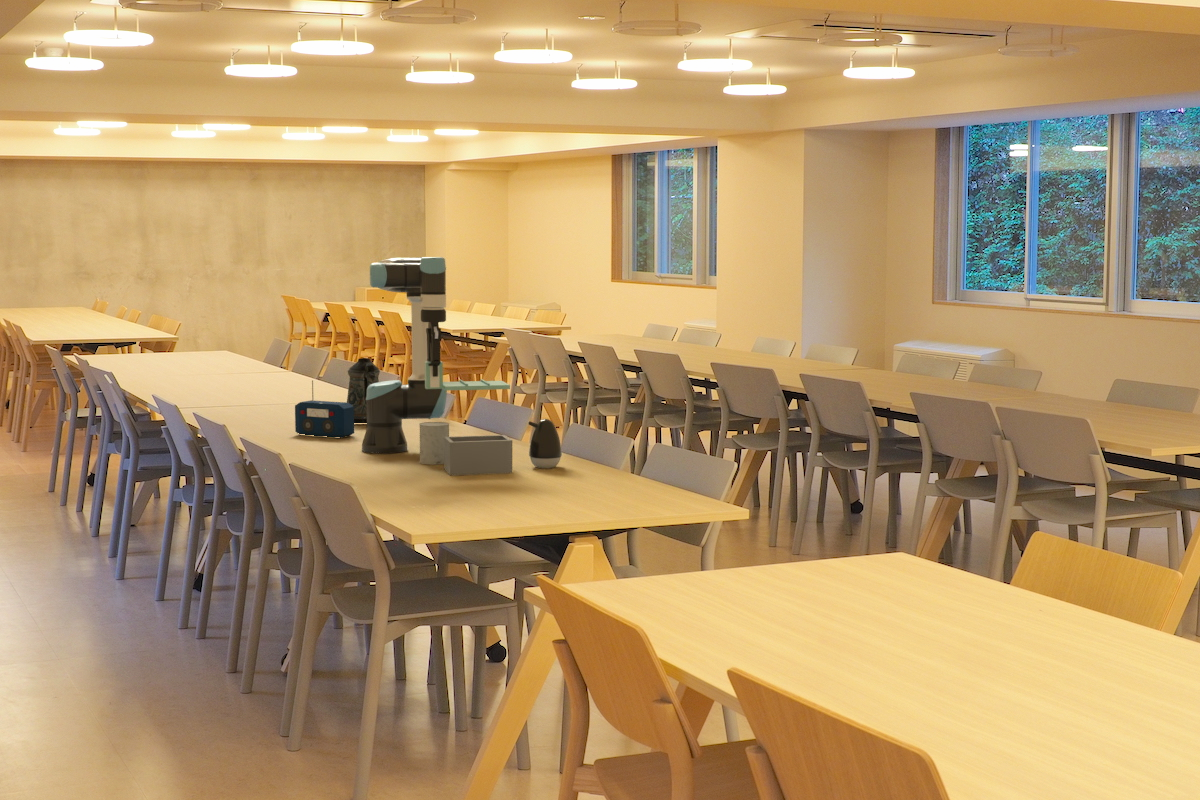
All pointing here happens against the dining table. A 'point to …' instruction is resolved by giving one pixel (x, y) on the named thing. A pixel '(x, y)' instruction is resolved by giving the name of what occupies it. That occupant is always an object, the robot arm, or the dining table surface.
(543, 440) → the pump dispenser
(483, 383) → the ridged green paddle
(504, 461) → the tub
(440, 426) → the grey speckled cylinder
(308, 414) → the radio
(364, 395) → the beer stein
